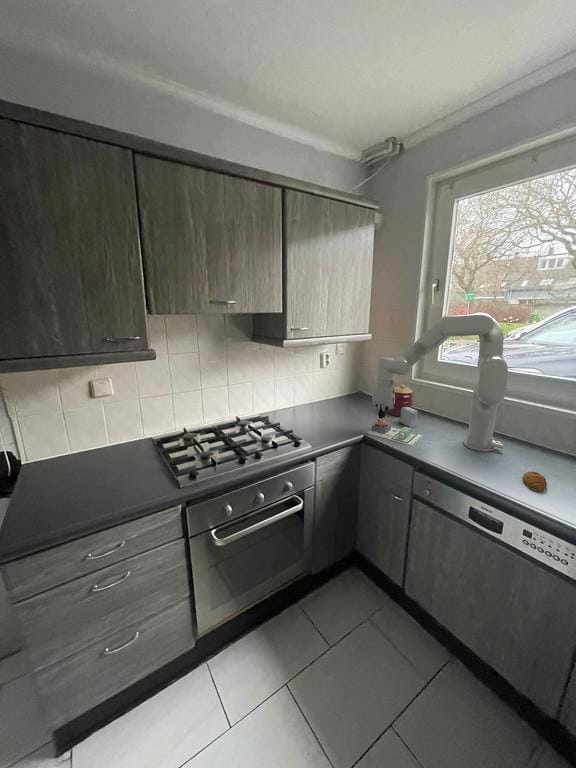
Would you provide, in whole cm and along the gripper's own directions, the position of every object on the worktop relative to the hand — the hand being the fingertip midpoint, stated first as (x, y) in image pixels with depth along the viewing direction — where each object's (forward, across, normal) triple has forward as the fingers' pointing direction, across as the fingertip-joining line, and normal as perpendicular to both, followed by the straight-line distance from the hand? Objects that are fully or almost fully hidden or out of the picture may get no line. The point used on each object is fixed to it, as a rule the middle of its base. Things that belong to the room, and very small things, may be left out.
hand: (381, 417), depth 159 cm
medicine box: (+7, -7, -18) cm, 21 cm away
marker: (+6, -12, 0) cm, 14 cm away
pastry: (+7, -64, +10) cm, 65 cm away
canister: (+8, +3, -32) cm, 33 cm away
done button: (+5, 0, 0) cm, 5 cm away
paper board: (+7, -7, 0) cm, 10 cm away
